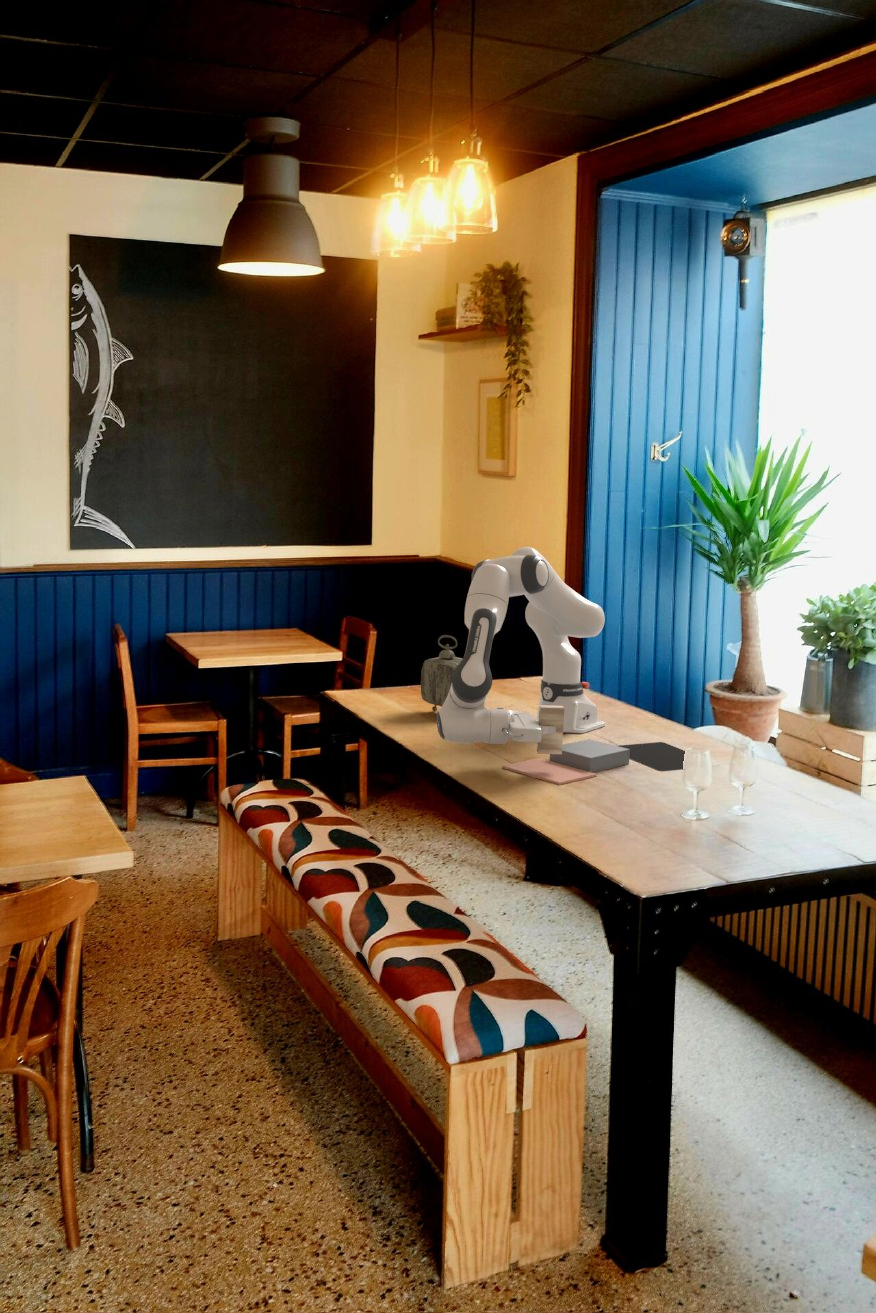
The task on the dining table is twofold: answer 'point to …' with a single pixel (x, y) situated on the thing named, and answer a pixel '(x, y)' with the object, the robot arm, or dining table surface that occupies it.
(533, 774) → the terracotta mat
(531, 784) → the dining table surface
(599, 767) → the block
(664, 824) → the dining table surface
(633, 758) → the tablet
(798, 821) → the dining table surface
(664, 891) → the dining table surface
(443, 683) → the tabletop clock
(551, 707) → the birch plaque
